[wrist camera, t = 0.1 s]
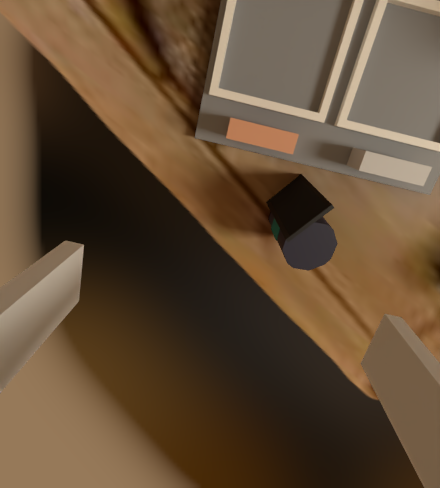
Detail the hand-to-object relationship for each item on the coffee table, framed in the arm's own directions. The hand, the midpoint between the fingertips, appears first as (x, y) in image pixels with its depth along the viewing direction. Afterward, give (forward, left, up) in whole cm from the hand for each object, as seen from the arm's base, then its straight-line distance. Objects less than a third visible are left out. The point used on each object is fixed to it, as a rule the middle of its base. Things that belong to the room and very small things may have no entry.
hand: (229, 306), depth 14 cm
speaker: (+2, +9, -28) cm, 29 cm away
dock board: (-13, +9, -28) cm, 32 cm away
